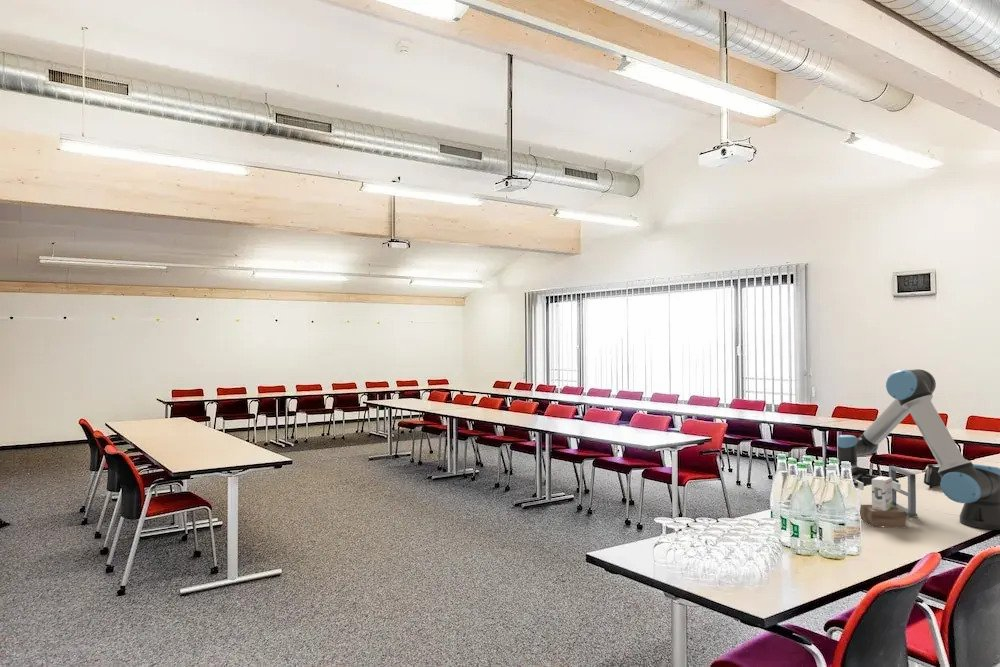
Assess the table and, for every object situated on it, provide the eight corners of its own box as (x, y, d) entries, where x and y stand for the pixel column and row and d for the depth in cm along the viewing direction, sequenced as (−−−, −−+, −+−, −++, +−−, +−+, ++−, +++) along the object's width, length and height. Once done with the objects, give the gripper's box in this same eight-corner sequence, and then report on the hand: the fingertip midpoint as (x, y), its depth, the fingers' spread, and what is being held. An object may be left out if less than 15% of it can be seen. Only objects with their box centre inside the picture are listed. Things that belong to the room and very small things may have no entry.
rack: (917, 516, 258) (916, 474, 258) (909, 516, 258) (908, 474, 258) (895, 505, 275) (894, 465, 276) (888, 505, 276) (887, 465, 276)
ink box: (879, 505, 253) (878, 475, 253) (893, 507, 249) (892, 477, 249) (871, 508, 247) (871, 478, 247) (885, 511, 243) (885, 480, 244)
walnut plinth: (905, 527, 242) (905, 512, 242) (872, 526, 244) (872, 511, 244) (892, 520, 252) (892, 505, 252) (860, 519, 254) (860, 504, 254)
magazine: (952, 462, 327) (926, 450, 311) (959, 463, 325) (934, 451, 309) (948, 495, 324) (922, 485, 308) (955, 496, 321) (930, 487, 305)
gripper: (888, 485, 268) (915, 497, 247) (826, 484, 271) (847, 495, 250) (888, 467, 268) (914, 478, 247) (826, 466, 271) (847, 476, 250)
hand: (881, 487), depth 249 cm, fingers open, 13 cm apart
